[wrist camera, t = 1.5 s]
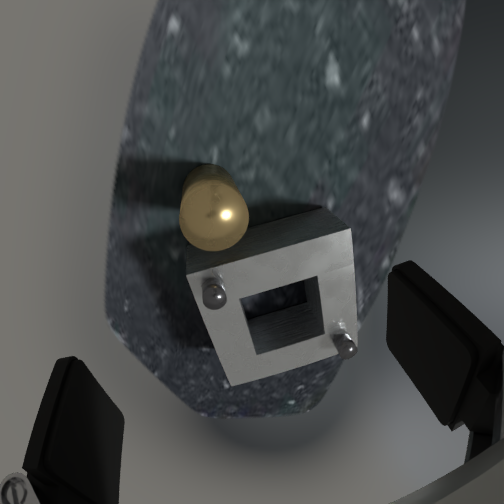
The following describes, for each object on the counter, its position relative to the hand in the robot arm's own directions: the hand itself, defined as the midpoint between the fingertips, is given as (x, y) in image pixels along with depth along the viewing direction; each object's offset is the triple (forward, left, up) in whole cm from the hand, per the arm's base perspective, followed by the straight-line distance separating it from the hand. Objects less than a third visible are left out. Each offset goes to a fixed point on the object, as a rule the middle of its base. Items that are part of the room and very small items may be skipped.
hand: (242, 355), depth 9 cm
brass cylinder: (0, 0, -18) cm, 18 cm away
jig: (+10, +3, -18) cm, 21 cm away
